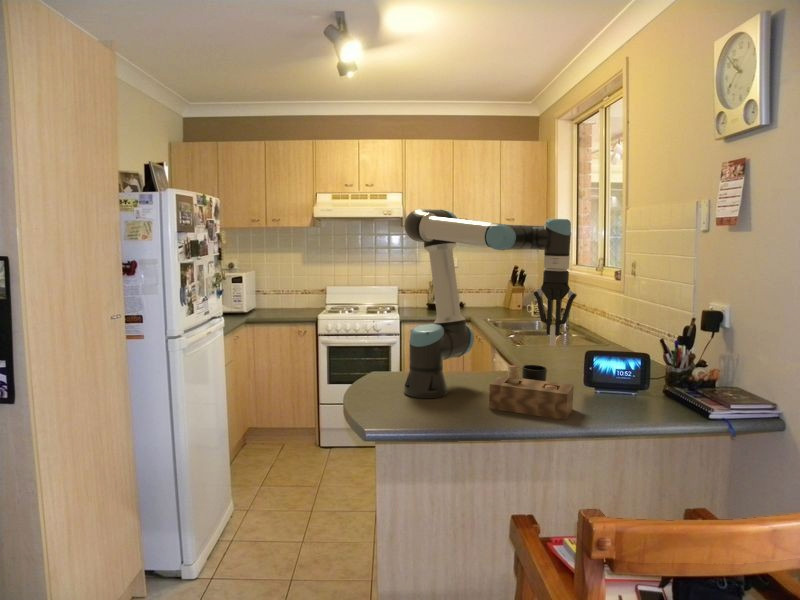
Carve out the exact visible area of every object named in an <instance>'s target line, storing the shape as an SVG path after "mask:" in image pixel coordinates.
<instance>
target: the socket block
mask: <svg viewBox="0 0 800 600" xmlns="http://www.w3.org/2000/svg"><path fill="white" fill-rule="evenodd" d="M546 385H553V386H556V387H557V390H555V389H547V388H545V386H546ZM574 386H575V385H574V384H570V383H561V382H554V381H547V380H546V381H539V380H531V379H523V378H520V377H519V385H516V384H508V376H505V375H499V376H498V377H496V378H495V379H494V380H493V381H492V382H491V383H489V403H488V409H491V410H498V411H503V412H504V411H505V412H509V413H516V414H517V413H518V414H524V415H532V416H537V417H543V418H550V419H557V420H564V421H567V419H568V418H569V416H570V414H571V413H572V411H573V409H574V408H573V407H574V406H573V405H574V403H573V402H574V390H575V389H574Z"/></svg>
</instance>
